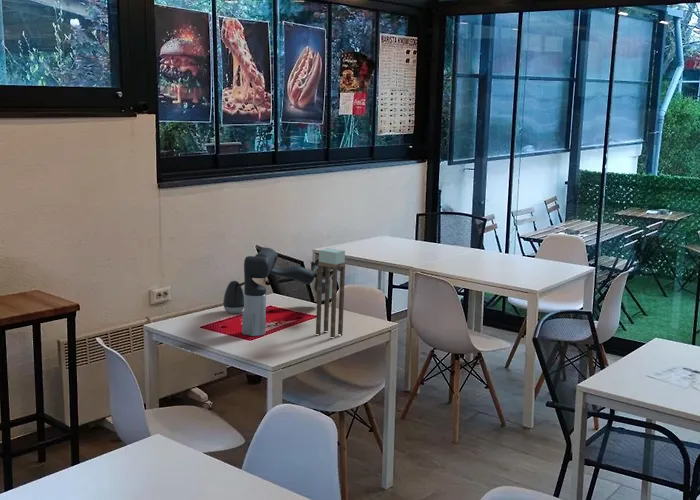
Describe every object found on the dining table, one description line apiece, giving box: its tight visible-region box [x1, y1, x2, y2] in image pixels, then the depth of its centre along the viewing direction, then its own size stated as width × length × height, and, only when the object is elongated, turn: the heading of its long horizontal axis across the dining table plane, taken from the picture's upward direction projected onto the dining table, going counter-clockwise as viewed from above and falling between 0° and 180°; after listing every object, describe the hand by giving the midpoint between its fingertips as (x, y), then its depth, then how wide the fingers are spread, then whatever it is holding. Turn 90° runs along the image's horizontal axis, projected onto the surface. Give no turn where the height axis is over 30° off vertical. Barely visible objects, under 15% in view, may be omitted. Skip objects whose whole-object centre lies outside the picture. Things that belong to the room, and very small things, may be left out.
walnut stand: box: [315, 262, 346, 338], centre depth 335 cm, size 7×9×32 cm
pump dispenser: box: [222, 280, 244, 315], centre depth 368 cm, size 10×10×15 cm
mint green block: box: [318, 248, 346, 265], centre depth 337 cm, size 15×15×5 cm
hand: (327, 261), depth 356 cm, fingers open, 8 cm apart
